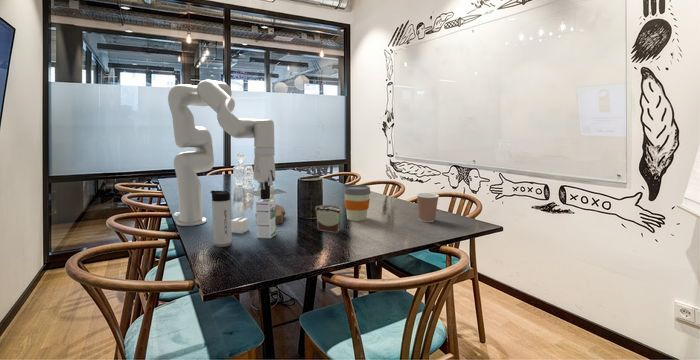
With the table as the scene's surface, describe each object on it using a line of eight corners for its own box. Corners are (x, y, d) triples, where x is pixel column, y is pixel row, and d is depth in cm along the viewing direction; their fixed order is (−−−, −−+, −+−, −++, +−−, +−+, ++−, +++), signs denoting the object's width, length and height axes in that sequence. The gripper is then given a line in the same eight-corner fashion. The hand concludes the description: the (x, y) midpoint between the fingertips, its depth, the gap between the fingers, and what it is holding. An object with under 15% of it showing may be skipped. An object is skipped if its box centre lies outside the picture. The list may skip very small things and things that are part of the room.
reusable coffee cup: (370, 221, 173) (371, 189, 171) (343, 221, 173) (343, 189, 171) (369, 215, 186) (369, 185, 184) (343, 215, 186) (344, 184, 184)
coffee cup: (441, 219, 179) (442, 194, 177) (433, 224, 170) (434, 197, 168) (420, 216, 184) (421, 192, 182) (412, 220, 176) (412, 195, 174)
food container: (347, 229, 160) (347, 206, 159) (341, 233, 155) (341, 209, 153) (322, 226, 166) (322, 203, 164) (314, 229, 160) (314, 206, 159)
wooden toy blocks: (255, 232, 167) (259, 216, 184) (285, 227, 168) (287, 212, 185) (252, 216, 165) (257, 202, 182) (282, 212, 166) (284, 198, 183)
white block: (231, 232, 155) (230, 220, 154) (238, 229, 160) (237, 217, 159) (242, 233, 154) (241, 221, 153) (248, 230, 159) (248, 218, 158)
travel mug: (215, 242, 142) (213, 189, 139) (233, 241, 143) (231, 189, 140) (210, 247, 136) (208, 192, 133) (229, 247, 136) (227, 192, 133)
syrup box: (270, 238, 147) (270, 201, 145) (256, 237, 148) (255, 201, 146) (276, 234, 152) (275, 199, 150) (262, 233, 153) (261, 198, 151)
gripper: (247, 151, 149) (248, 197, 151) (264, 153, 137) (265, 203, 140) (264, 150, 153) (265, 195, 156) (282, 152, 142) (283, 201, 144)
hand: (265, 198), depth 148 cm, fingers closed
